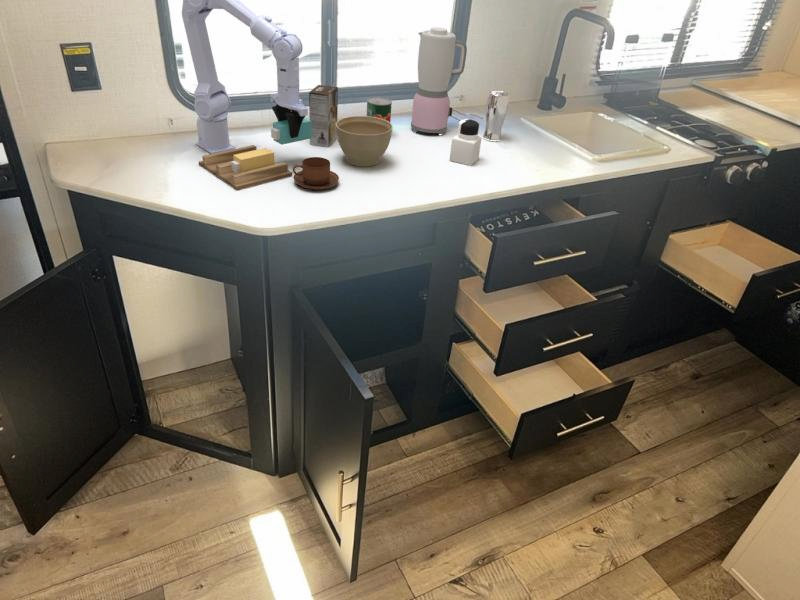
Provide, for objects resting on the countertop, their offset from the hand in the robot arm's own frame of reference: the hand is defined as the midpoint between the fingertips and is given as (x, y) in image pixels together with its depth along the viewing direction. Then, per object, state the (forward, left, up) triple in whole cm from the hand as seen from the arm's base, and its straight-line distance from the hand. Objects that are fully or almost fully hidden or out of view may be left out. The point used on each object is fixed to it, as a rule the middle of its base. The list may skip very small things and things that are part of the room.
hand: (289, 134), depth 167 cm
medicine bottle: (+26, +46, -9) cm, 53 cm away
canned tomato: (-5, +38, -9) cm, 39 cm away
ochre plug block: (+2, -13, -7) cm, 15 cm away
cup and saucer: (+16, -2, -9) cm, 18 cm away
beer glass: (+18, +69, -9) cm, 71 cm away
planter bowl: (+10, +19, -9) cm, 23 cm away
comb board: (-2, -13, -8) cm, 16 cm away
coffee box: (-9, +19, -9) cm, 22 cm away
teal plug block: (0, +1, -2) cm, 2 cm away
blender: (+2, +57, -9) cm, 57 cm away
